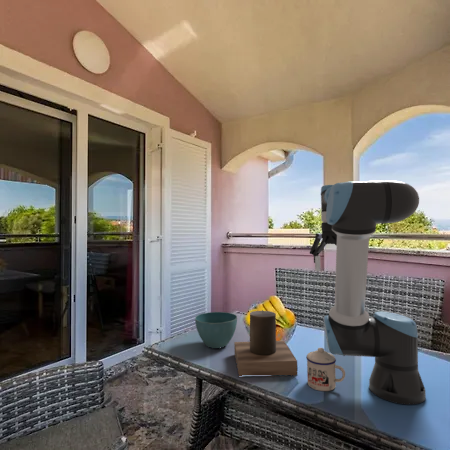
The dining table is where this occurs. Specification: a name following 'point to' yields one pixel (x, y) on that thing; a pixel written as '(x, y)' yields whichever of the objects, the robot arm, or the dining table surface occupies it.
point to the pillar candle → (263, 332)
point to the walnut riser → (265, 360)
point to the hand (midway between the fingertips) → (331, 272)
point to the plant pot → (216, 328)
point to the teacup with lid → (322, 370)
